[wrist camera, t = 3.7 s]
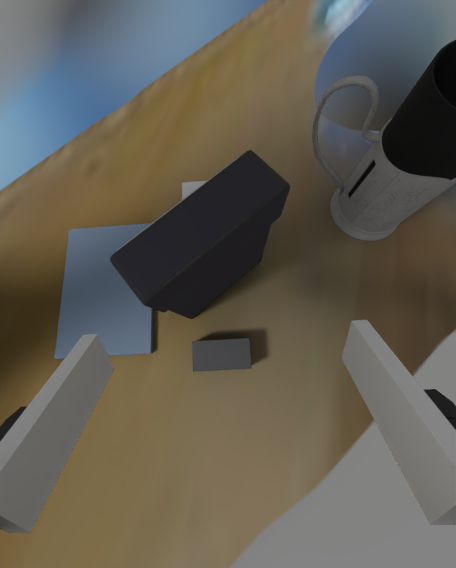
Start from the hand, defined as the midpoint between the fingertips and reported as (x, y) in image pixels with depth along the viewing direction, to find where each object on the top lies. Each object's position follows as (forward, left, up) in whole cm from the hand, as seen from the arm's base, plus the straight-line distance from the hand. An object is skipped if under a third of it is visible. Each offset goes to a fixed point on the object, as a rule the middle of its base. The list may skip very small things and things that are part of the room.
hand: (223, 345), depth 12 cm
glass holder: (+15, +16, -14) cm, 27 cm away
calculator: (-1, +7, -14) cm, 16 cm away
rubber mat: (-15, +7, -14) cm, 22 cm away
